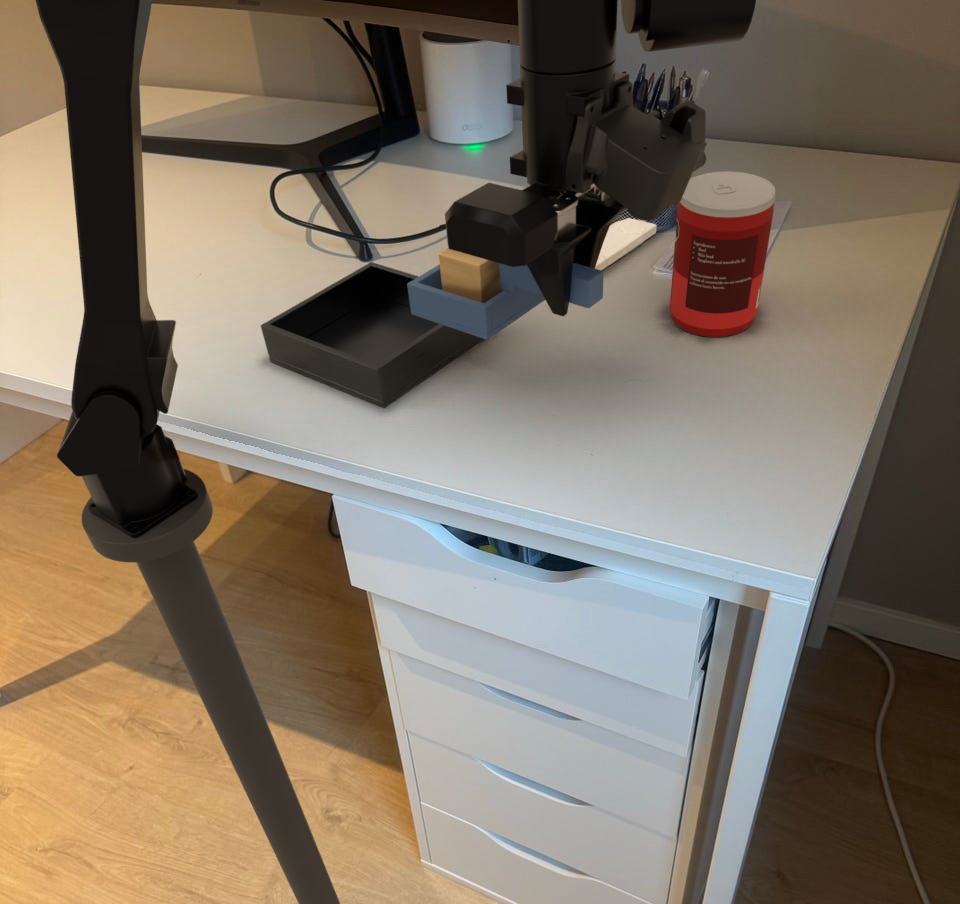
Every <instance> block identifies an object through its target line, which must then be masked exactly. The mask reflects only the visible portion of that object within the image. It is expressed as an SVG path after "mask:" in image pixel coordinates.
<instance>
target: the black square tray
mask: <svg viewBox="0 0 960 904" xmlns="http://www.w3.org/2000/svg"><path fill="white" fill-rule="evenodd" d="M419 276H420V275H419ZM419 276H418V275H415V274H412V273H408V272H407V271H406V272H405V271H402V270H399V269H396V268H393V267H389V266H385V265H382V264H380V263H376V262H373V261H370V262H368V263H367V264H365V265H363V266H361V267H360V268H358V269H356V270H355V271H353V272H351V273H349V274H347V275H345V276H344V277H343V278H341V279H339V280H337V281H335V282H333V283H332V284H331V285H328V286H327V287H325V288H323V289H321V290H319V291H318V292H316V293H315V294H312V295H311V296H309V297H307V298H306V299H304V300H302V301H300V302H299V303H297V304H296V305H293V306H292V307H290V308H288V309H287V310H285V311H283V312H281V313H279V314H278V315H276V316H274V317H273V318H271V319H268V320H267V321H266V322H264V323H262V324H260V328H261V332H262V336H263V340H264V343H265V347H266V351H267V355H268V359H269V362H270V363H272V364H273V365H277V366H279V367H282V368H284V369H287V370H288V371H291V372H293V373H297V374H298V375H301V376H303V377H306V378H309V379H310V380H313V381H316V382H318V383H320V384H324V385H325V386H327V387H330V388H333V389H335V390H338V391H340V392H342V393H346V394H348V395H350V396H352V397H355V398H356V399H360V400H361V401H365V402H368V403H370V404H373V405H374V406H377V407H379V408H382V409H385V408H387V407H388V406H390V405H391V404H392V403H394V402H395V401H397V400H399V399H400V398H401V397H403V396H404V395H405V394H407V393H408V392H410V391H411V390H413V389H414V388H416V387H417V386H419V385H420V384H421V383H422V382H424V381H426V380H427V379H428V378H430V377H431V376H433V375H434V374H435V373H437V372H438V371H440V370H441V369H443V368H444V367H446V365H449V364H450V363H451V362H453V361H454V360H455V359H457V358H458V357H460V356H461V355H463V354H464V353H465V352H467V351H468V350H470V349H471V348H473V347H474V346H476V345H477V344H479V343H480V342H481V341H483V340H484V339H483V338H480V337H477V336H474V335H471V334H468V333H465V332H462V331H459V330H456V329H454V328H451V327H448V326H445V325H442V324H439V323H436V322H433V321H430V320H427V319H424V318H421V317H418V316H415V315H412V314H411V308H410V301H409V294H408V287H407V283H409V282H411V281H413V280H414V279H416V278H418V277H419Z"/></svg>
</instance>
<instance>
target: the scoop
mask: <svg viewBox="0 0 960 904" xmlns="http://www.w3.org/2000/svg"><path fill="white" fill-rule="evenodd" d="M499 267H500V284H501V289H503V290H504V291H502V292H501V293H499V294H498V295H496V296H495V297H493V298H492V299H490V300H488V301H487V302H485V303H481V302H478V301H475V300H472V299H469V298H465V297H462V296H459V295H456V294H453V293H450V292H446V291H443V290H442V281H441V272H440V263H439V264H438V265H436V266H434V267H432V268H431V269H429V270H427V271H426V272H424V273H422V274H421V275H419V277H418V278H416V279H414V280H413V281H411V282H409V283H407V287H408V294H409V301H410V308H411V314H412V315H415V316H418V317H421V318H424V319H427V320H430V321H433V322H436V323H439V324H442V325H445V326H448V327H451V328H454V329H456V330H459V331H462V332H465V333H468V334H471V335H474V336H477V337H480V338H483V340H487V341H488V340H490V339H491V338H492V337H494V336H495V335H497V334H498V333H500V332H501V331H502V330H504V329H506V328H507V327H508V326H510V325H511V324H513V323H514V322H516V321H517V320H519V319H520V318H521V317H524V315H526V314H527V313H529V312H530V311H531V310H533V309H534V308H536V307H537V306H539V305H540V304H541V303H543V302H544V301H546V300H545V298H544V296H543V294H542V292H541V290H540V288H539V287H538V285H537V283H536V281H535V279H534V277H533V275H532V273H531V271H530V270H529V268H528V266H527V265H525V266H516V267H511V266H507V265H504V264H500V263H499ZM604 273H605V272H604V270H598V269H594V268H590V267H587V266H583V265H579V264H576V263H573V269H572V280H571V292H570V300H569V304H572V305H576V306H579V307H583V308H585V309H590V308H592V307H593V306H594V305H596V304H597V303H598V302H600V301H601V300H603V298H604Z"/></svg>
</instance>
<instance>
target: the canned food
mask: <svg viewBox="0 0 960 904" xmlns="http://www.w3.org/2000/svg"><path fill="white" fill-rule="evenodd" d="M775 202H776V187H775V185H774V184H773V183H772V182H770V181H769V180H768V179H766V178H763V177H761V176H759V175H756V174H754V173H753V174H752V173H748V172H741V171H712V172H707V173H703V174H700V175H696V176H693V177H691V178H690V180H689V182H688V185H687V187H686V190H685V192H684V194H683V197H682V199H681V201H680V202H679V203H677V210H676V221H675V235H674V246H673V247H674V249H673V263H672V272H671V273H672V275H671V286H670V289H671V290H670V300H669V301H670V303H669V309H670V314H671V318H672V320H673V322H674V323H675V324H676V326H677V327H679V328H680V329H682V330H683V331H685V332H687V333H689V334H693V335H696V336H701V337H710V338H721V337H728V336H733V335H736V334H739V333H742V332H743V331H745V330H747V329H748V328H749V327H751V325H752V324H753V322H754V320H755V319H756V316H757V314H758V310H759V305H760V304H759V303H760V298H761V291H762V287H763V286H762V285H763V279H764V273H765V267H766V262H767V254H768V249H769V243H770V236H771V229H772V223H773V217H774V211H775V209H774V208H775Z"/></svg>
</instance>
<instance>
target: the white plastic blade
mask: <svg viewBox="0 0 960 904" xmlns="http://www.w3.org/2000/svg"><path fill="white" fill-rule="evenodd" d="M657 227H658V226H657V224H656V223H653V222H648V221H645V220H640V219H637V218H633V219H632V218H630V217H627V218H625V219H622V220H618V221H615V222H614V223H611V225H610V227H609V229H608V232H607V234H606V237H605V240H604V242H603V245H602V248H601V251H600V254H599V257H598V260H597V263H596V266H595V269H598V270H601V271H604V269H605V268H607V267H609V266H610V265H613V263H615V262H616V261H618V260H619V259H620V258H622V257H623V256H625V255H627V254H628V253H630V252H631V251H633V250H634V249H636V248H637V247H638V246H640V245H642V244H643V243H644V242H645V241H646V240H648V239H649V238H651V237H652V236H654V235H655V234H656V233H657Z"/></svg>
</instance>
